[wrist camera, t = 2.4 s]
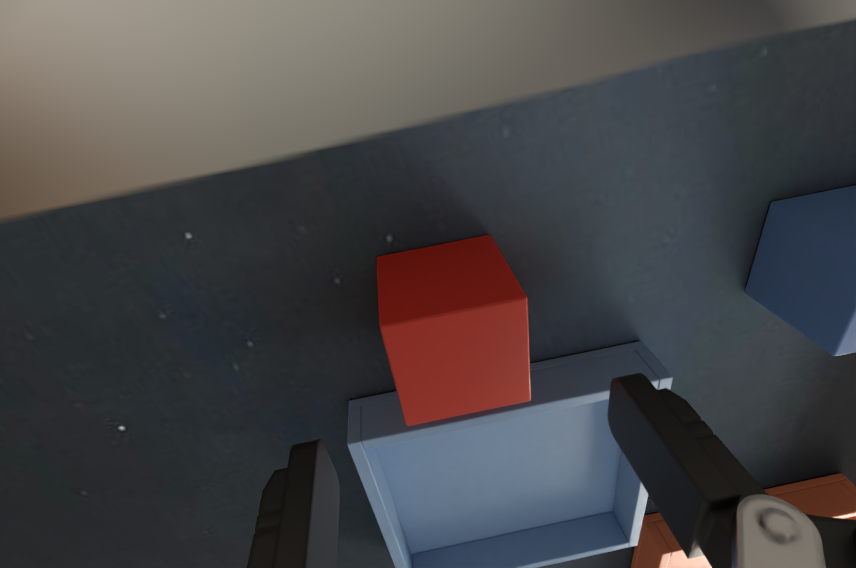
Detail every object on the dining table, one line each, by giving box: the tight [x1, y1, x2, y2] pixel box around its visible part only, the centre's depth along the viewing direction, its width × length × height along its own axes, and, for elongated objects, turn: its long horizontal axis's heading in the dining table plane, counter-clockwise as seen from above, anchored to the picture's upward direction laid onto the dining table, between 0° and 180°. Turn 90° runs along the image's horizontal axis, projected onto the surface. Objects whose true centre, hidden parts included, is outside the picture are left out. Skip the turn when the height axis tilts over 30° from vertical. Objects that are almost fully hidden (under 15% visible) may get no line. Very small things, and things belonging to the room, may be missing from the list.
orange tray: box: [631, 473, 856, 568], centre depth 32 cm, size 14×14×2 cm
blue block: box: [745, 185, 856, 356], centre depth 17 cm, size 4×4×4 cm
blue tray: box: [347, 341, 673, 568], centre depth 23 cm, size 14×14×2 cm
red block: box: [376, 235, 531, 426], centre depth 16 cm, size 4×4×4 cm
